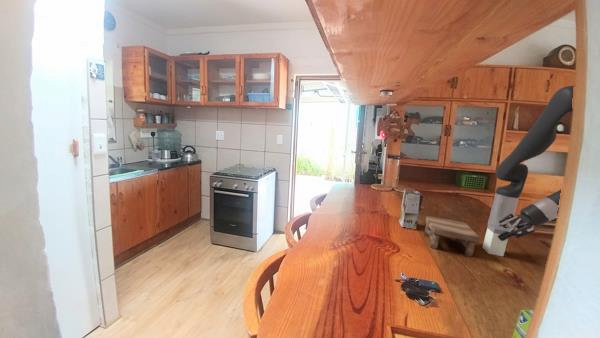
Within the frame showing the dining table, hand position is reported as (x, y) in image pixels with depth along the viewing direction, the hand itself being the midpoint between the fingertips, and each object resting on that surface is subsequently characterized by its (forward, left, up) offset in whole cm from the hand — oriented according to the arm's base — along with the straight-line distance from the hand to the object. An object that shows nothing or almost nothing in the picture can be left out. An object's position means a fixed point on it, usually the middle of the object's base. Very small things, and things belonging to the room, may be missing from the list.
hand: (495, 235), depth 101 cm
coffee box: (-12, -30, -7) cm, 33 cm away
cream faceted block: (0, 0, -7) cm, 7 cm away
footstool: (+2, -17, -7) cm, 18 cm away
